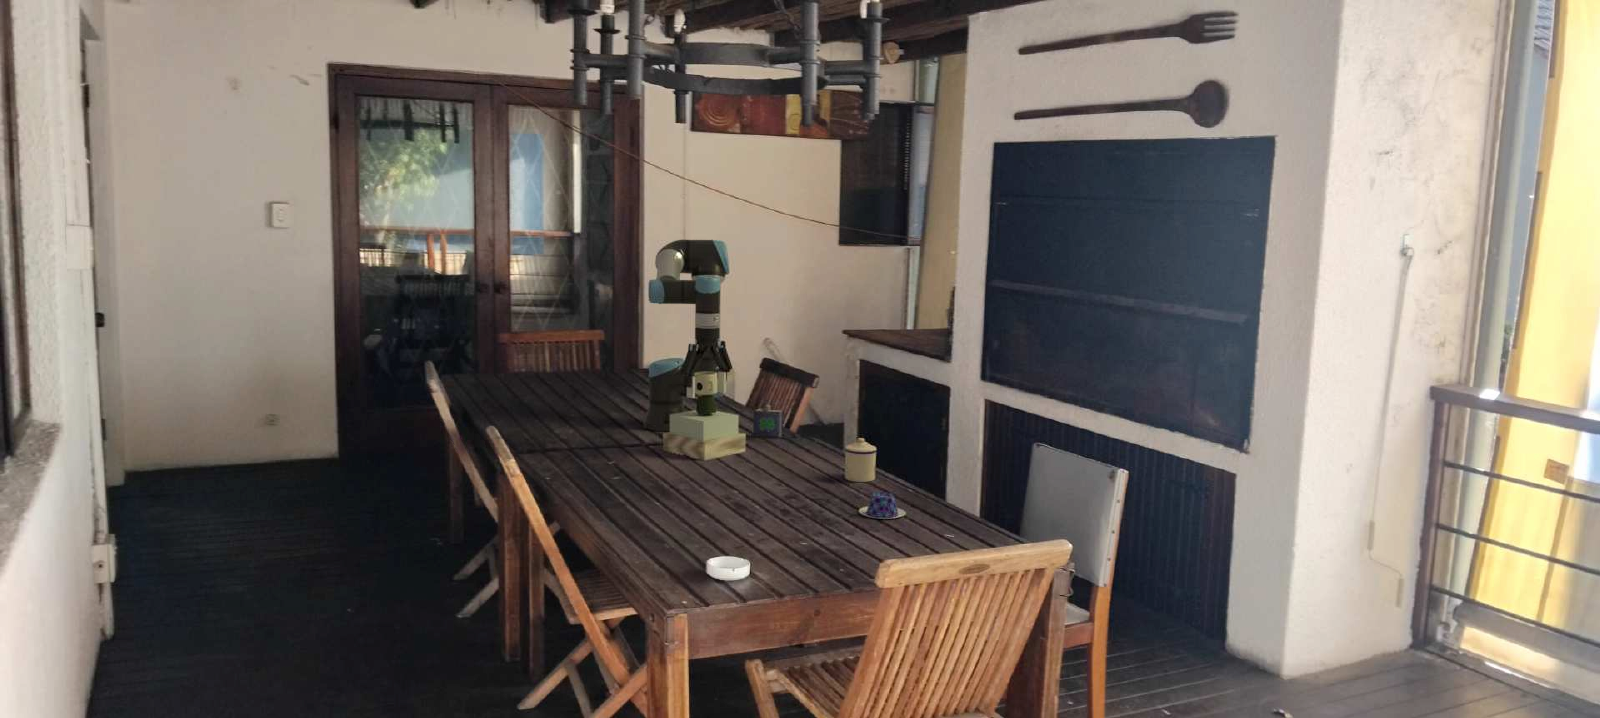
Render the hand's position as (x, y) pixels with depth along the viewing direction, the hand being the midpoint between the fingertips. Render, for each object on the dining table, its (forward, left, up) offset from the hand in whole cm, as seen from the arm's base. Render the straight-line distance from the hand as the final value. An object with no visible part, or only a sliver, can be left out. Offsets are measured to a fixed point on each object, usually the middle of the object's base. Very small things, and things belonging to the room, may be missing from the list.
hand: (706, 395), depth 366 cm
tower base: (-1, 0, -18) cm, 18 cm away
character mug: (0, 0, -6) cm, 6 cm away
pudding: (+82, -19, -18) cm, 86 cm away
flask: (-2, +30, -18) cm, 35 cm away
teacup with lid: (+54, +7, -18) cm, 57 cm away
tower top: (-1, 0, -12) cm, 12 cm away
